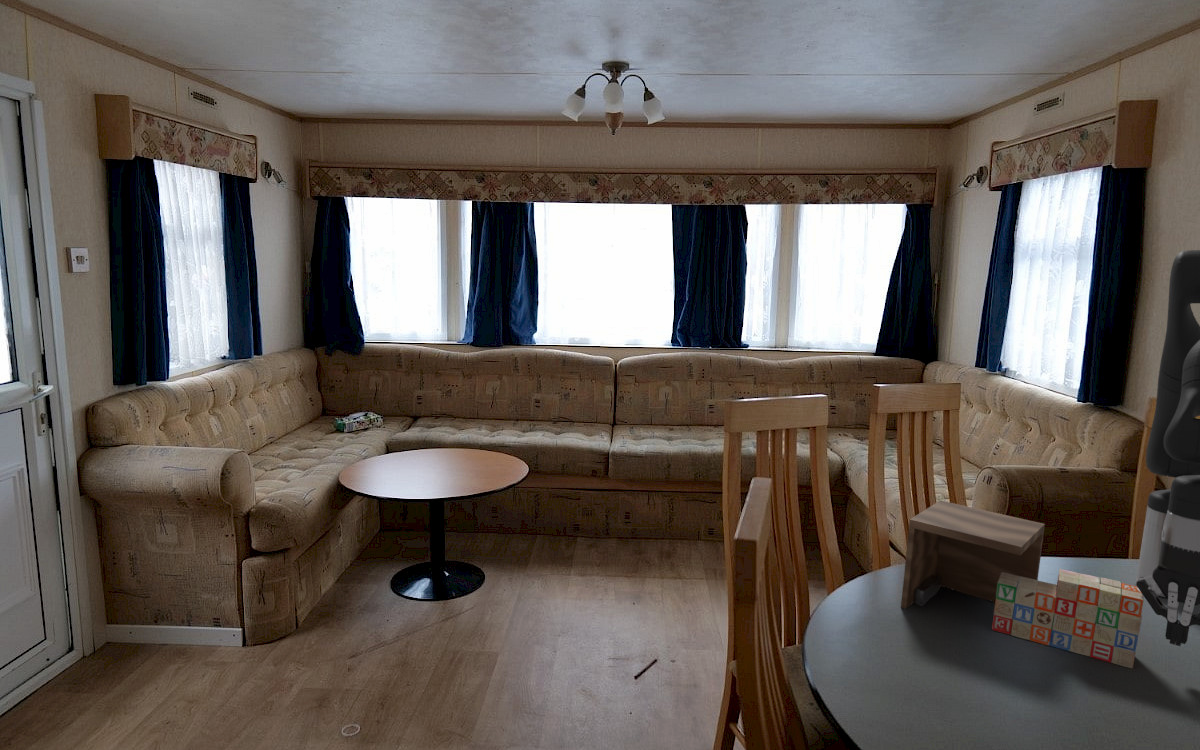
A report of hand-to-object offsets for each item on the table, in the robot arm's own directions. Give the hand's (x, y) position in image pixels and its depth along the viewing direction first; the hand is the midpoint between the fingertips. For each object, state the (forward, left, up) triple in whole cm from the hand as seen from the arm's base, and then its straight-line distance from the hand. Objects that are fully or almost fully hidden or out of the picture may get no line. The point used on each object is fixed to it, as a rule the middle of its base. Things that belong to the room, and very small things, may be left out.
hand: (1175, 643), depth 126 cm
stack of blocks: (+2, -16, -5) cm, 17 cm away
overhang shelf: (0, -31, -5) cm, 32 cm away
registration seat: (0, -39, -5) cm, 40 cm away
